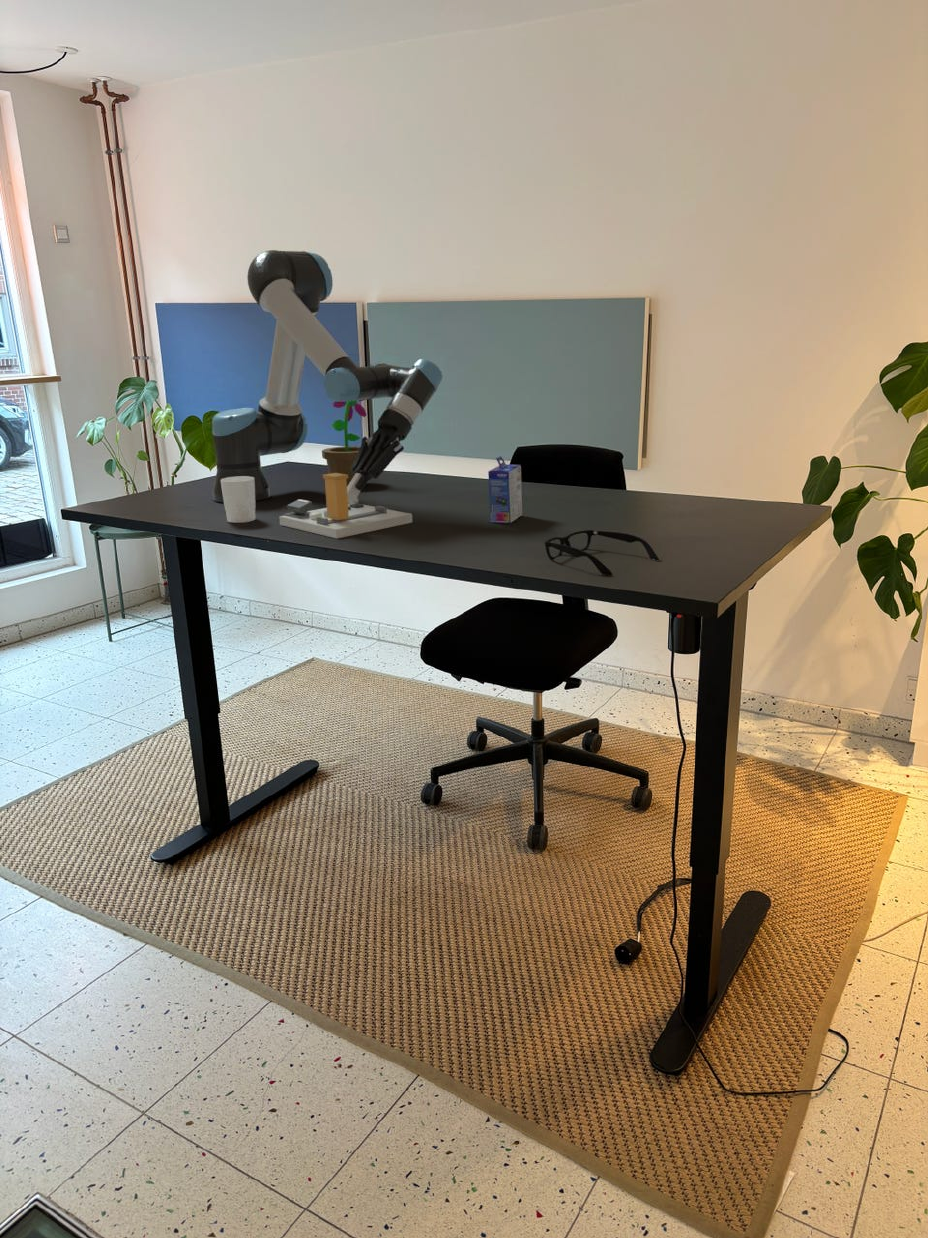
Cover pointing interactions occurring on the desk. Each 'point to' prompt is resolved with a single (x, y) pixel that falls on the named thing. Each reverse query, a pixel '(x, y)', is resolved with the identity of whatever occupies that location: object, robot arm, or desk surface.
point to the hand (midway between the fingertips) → (347, 499)
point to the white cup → (239, 498)
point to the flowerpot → (345, 456)
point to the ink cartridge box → (505, 492)
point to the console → (346, 520)
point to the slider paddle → (336, 496)
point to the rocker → (300, 506)
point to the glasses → (580, 553)
